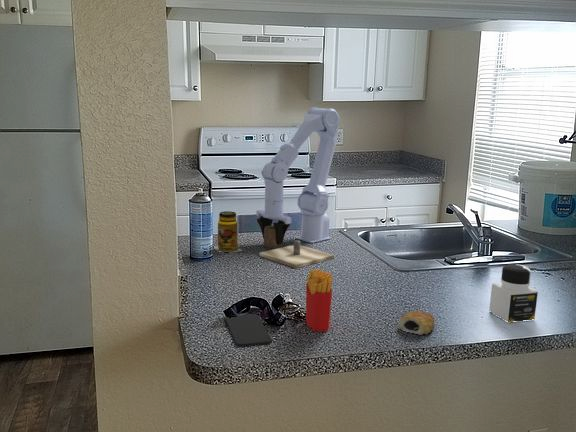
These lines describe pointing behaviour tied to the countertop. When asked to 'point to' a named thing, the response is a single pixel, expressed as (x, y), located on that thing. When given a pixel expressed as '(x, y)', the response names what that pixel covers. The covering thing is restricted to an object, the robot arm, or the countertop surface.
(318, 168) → the robot arm
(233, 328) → the phone
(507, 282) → the medicine bottle
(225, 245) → the condiment
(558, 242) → the countertop surface
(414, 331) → the pastry
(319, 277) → the french fries
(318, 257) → the post board
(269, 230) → the collar
